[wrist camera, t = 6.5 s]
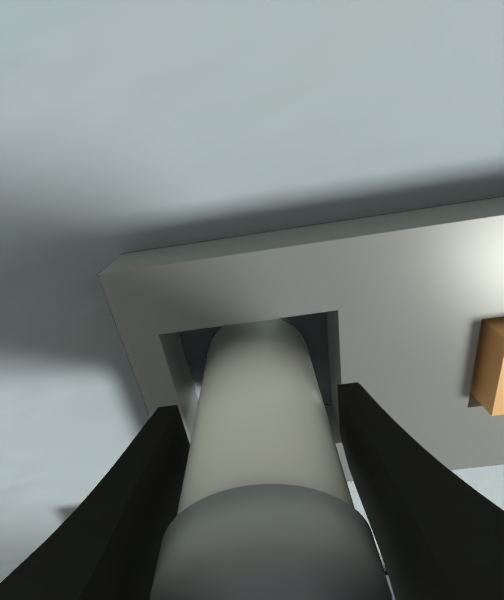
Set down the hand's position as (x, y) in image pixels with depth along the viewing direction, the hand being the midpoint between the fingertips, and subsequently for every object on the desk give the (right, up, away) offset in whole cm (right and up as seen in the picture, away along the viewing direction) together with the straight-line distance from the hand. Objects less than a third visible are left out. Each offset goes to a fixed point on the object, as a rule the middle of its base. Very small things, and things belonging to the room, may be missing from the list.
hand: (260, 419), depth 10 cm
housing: (+4, +2, +3) cm, 5 cm away
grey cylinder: (0, +1, +3) cm, 3 cm away
